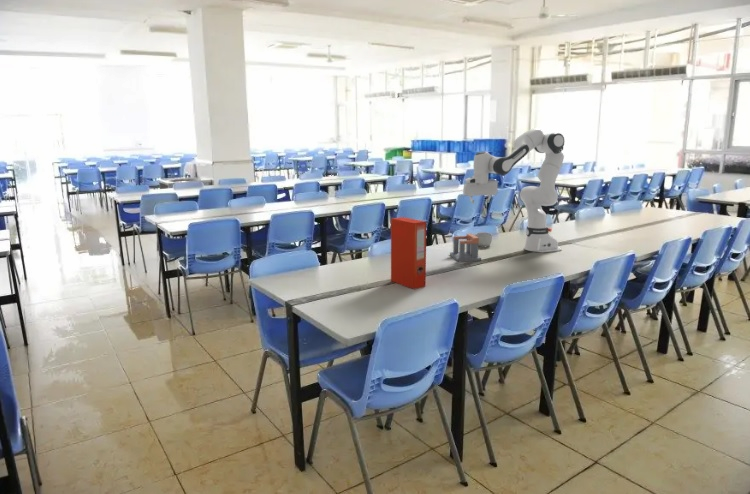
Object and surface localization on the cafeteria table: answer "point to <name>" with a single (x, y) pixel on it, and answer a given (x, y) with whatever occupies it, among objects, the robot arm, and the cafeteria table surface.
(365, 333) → the cafeteria table surface
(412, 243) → the file binder
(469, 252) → the display stand
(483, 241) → the teacup
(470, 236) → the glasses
